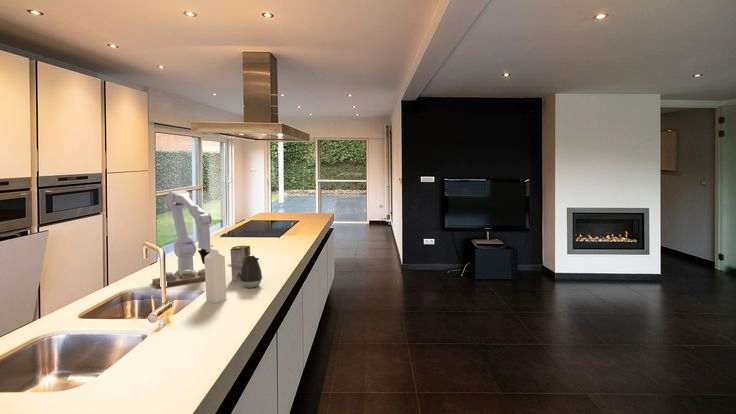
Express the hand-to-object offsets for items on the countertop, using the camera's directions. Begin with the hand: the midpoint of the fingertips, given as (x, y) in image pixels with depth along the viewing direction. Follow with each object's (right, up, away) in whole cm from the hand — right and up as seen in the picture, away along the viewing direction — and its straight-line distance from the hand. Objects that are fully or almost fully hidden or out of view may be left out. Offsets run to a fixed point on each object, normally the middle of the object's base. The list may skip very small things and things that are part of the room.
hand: (205, 263), depth 226 cm
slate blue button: (-14, -5, -10) cm, 18 cm away
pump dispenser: (+28, -9, -17) cm, 34 cm away
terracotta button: (0, -5, 0) cm, 5 cm away
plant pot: (+7, -4, +38) cm, 39 cm away
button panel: (-7, -8, -5) cm, 12 cm away
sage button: (-7, -5, -5) cm, 10 cm away
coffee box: (+19, -8, -1) cm, 21 cm away
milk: (+19, -11, -38) cm, 43 cm away
